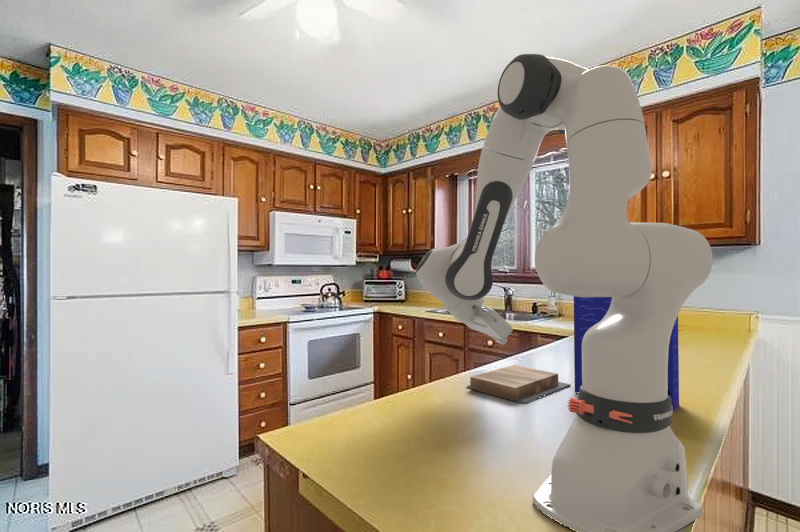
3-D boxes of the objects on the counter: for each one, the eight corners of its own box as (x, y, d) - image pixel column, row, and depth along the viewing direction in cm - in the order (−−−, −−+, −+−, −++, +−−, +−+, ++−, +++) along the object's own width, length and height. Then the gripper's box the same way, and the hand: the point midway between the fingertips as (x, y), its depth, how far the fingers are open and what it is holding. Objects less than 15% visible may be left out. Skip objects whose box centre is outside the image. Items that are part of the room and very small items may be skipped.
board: (515, 387, 100) (558, 373, 113) (470, 376, 111) (513, 364, 124) (515, 400, 100) (558, 384, 113) (470, 388, 111) (514, 375, 124)
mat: (525, 403, 99) (525, 401, 99) (466, 387, 113) (466, 385, 113) (570, 386, 113) (570, 384, 113) (513, 373, 127) (513, 372, 127)
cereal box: (679, 405, 97) (677, 276, 97) (673, 412, 93) (671, 277, 93) (583, 387, 112) (582, 276, 112) (574, 392, 108) (573, 276, 108)
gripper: (493, 298, 94) (533, 339, 96) (460, 293, 114) (493, 327, 116) (475, 318, 93) (515, 360, 95) (444, 310, 113) (478, 344, 115)
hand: (503, 342), depth 105 cm, fingers closed
